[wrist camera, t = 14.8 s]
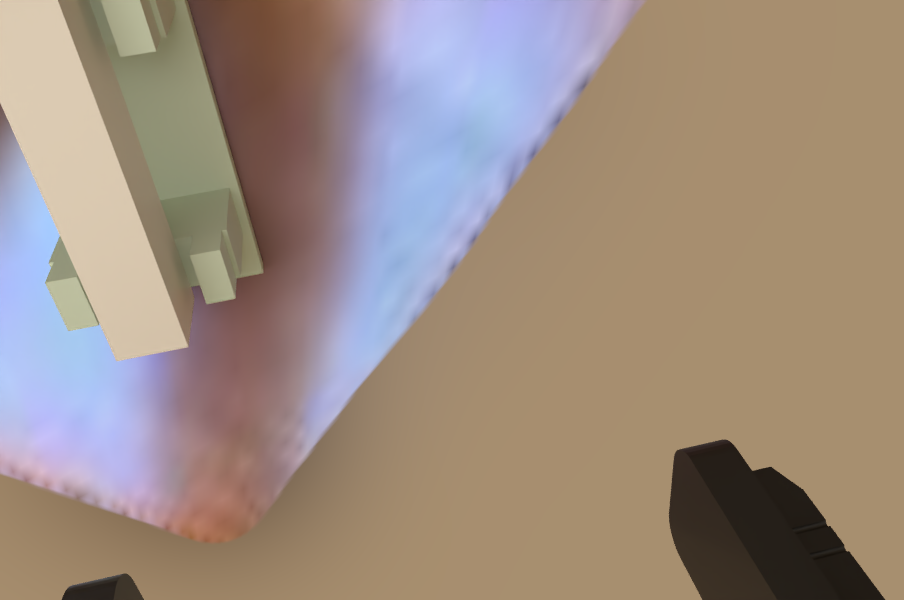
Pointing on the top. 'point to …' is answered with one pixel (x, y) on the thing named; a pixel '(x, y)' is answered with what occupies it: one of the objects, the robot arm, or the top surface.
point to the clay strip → (93, 173)
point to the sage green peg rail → (172, 152)
